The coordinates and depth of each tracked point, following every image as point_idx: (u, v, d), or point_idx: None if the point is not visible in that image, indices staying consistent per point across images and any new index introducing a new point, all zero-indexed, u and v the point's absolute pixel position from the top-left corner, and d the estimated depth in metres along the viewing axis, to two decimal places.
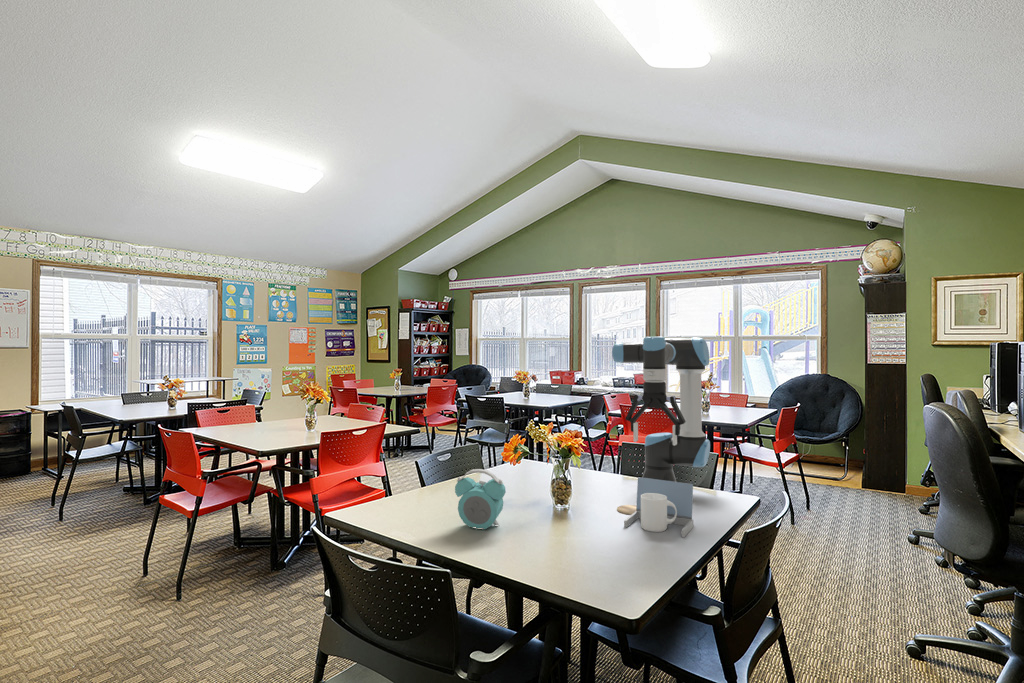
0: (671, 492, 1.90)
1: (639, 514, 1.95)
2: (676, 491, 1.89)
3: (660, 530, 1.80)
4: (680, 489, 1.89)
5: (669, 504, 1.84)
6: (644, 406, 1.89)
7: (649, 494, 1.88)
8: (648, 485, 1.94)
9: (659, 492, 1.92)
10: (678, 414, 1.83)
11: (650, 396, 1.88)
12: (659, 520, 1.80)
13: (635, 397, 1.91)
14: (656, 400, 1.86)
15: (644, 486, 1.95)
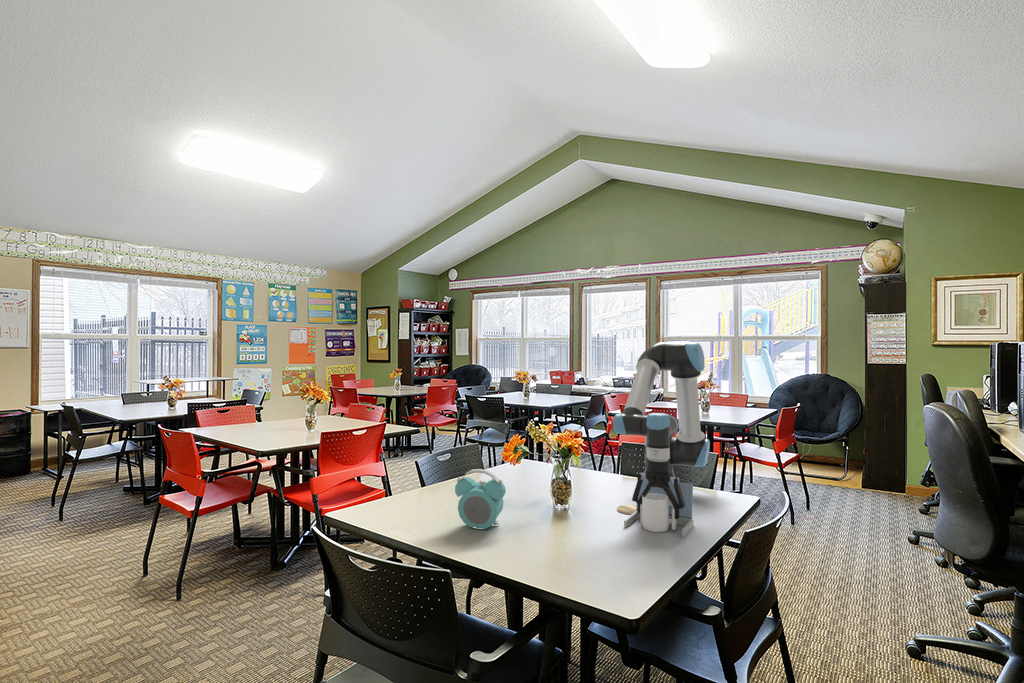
0: None
1: (639, 514, 1.95)
2: None
3: (662, 530, 1.80)
4: None
5: (671, 504, 1.83)
6: (648, 486, 1.84)
7: (650, 494, 1.88)
8: None
9: (659, 492, 1.92)
10: (679, 498, 1.79)
11: (653, 474, 1.84)
12: (661, 520, 1.80)
13: (638, 476, 1.87)
14: (660, 480, 1.82)
15: (644, 486, 1.95)
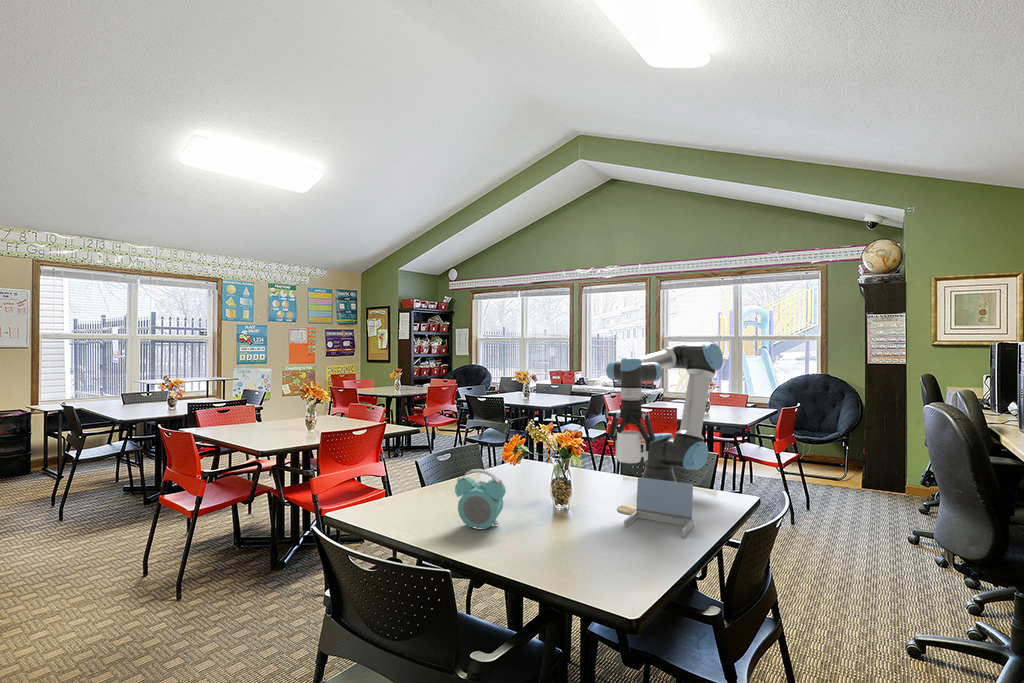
0: (671, 492, 1.90)
1: (639, 514, 1.95)
2: (676, 491, 1.89)
3: (634, 461, 2.00)
4: (680, 489, 1.89)
5: (642, 439, 2.03)
6: (622, 423, 2.04)
7: (625, 431, 2.08)
8: (648, 485, 1.94)
9: (659, 492, 1.92)
10: (650, 432, 1.99)
11: (627, 412, 2.04)
12: (633, 452, 2.00)
13: (613, 415, 2.07)
14: (632, 416, 2.02)
15: (644, 486, 1.95)
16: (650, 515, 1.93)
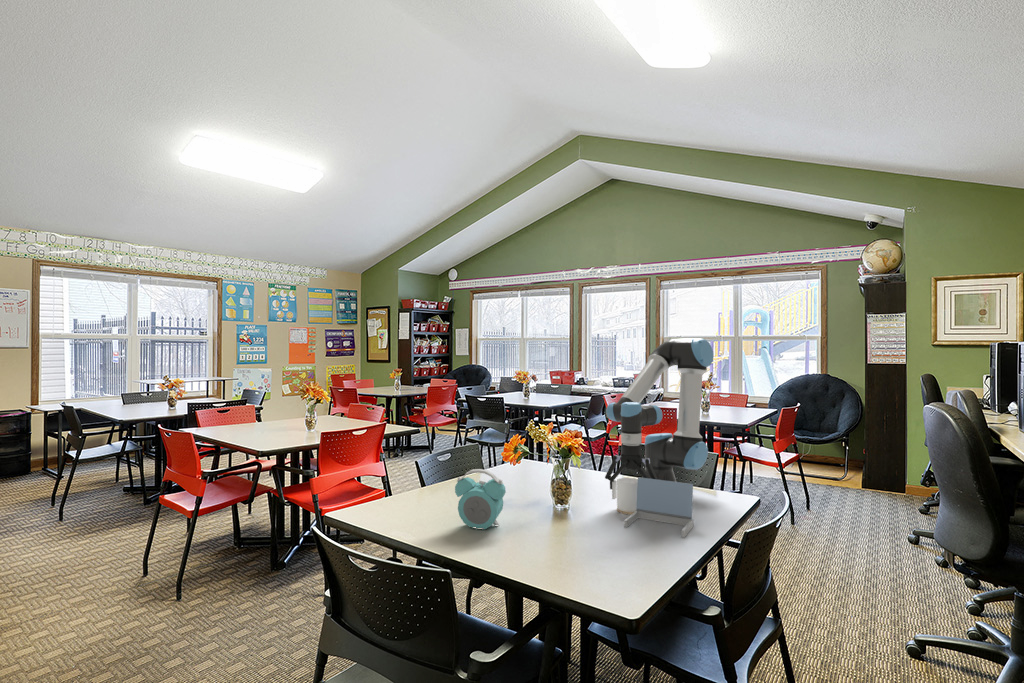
0: (671, 492, 1.90)
1: (639, 514, 1.95)
2: (676, 491, 1.89)
3: (634, 510, 2.00)
4: (680, 489, 1.89)
5: None
6: (622, 467, 2.04)
7: (624, 479, 2.08)
8: (648, 485, 1.94)
9: (659, 492, 1.92)
10: (652, 476, 1.99)
11: (627, 458, 2.04)
12: (633, 501, 2.00)
13: (614, 458, 2.07)
14: (632, 462, 2.02)
15: (644, 486, 1.95)
16: (650, 515, 1.93)
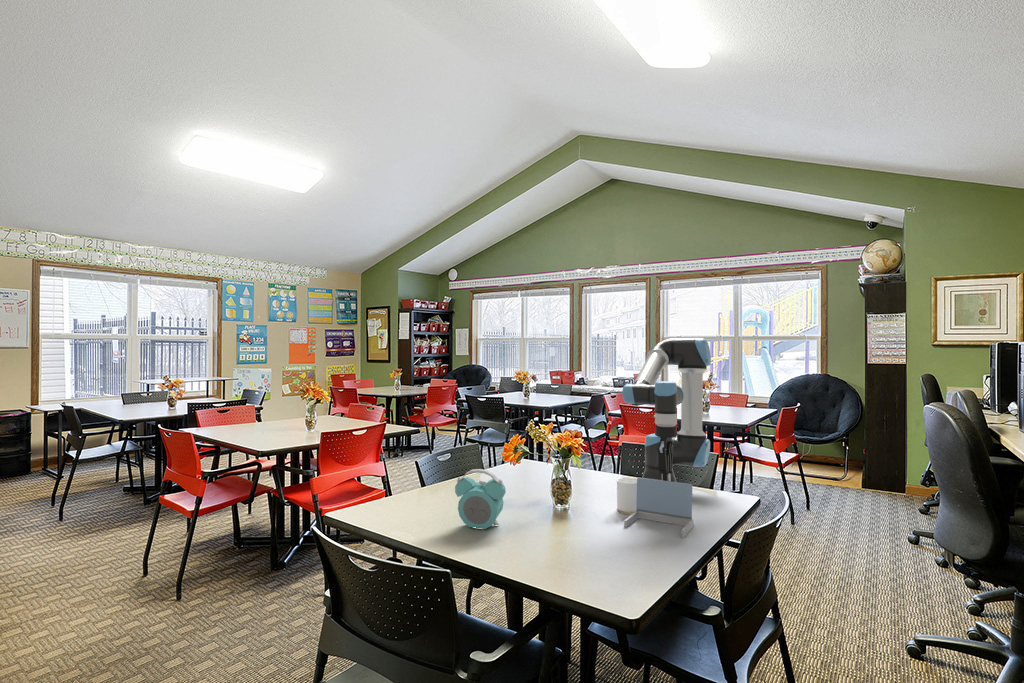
0: (670, 492, 1.89)
1: (639, 514, 1.95)
2: (675, 491, 1.89)
3: (634, 510, 2.00)
4: (679, 489, 1.88)
5: None
6: None
7: (624, 479, 2.08)
8: (647, 485, 1.94)
9: (659, 492, 1.92)
10: None
11: None
12: (633, 501, 2.00)
13: None
14: None
15: (643, 486, 1.95)
16: (650, 515, 1.93)
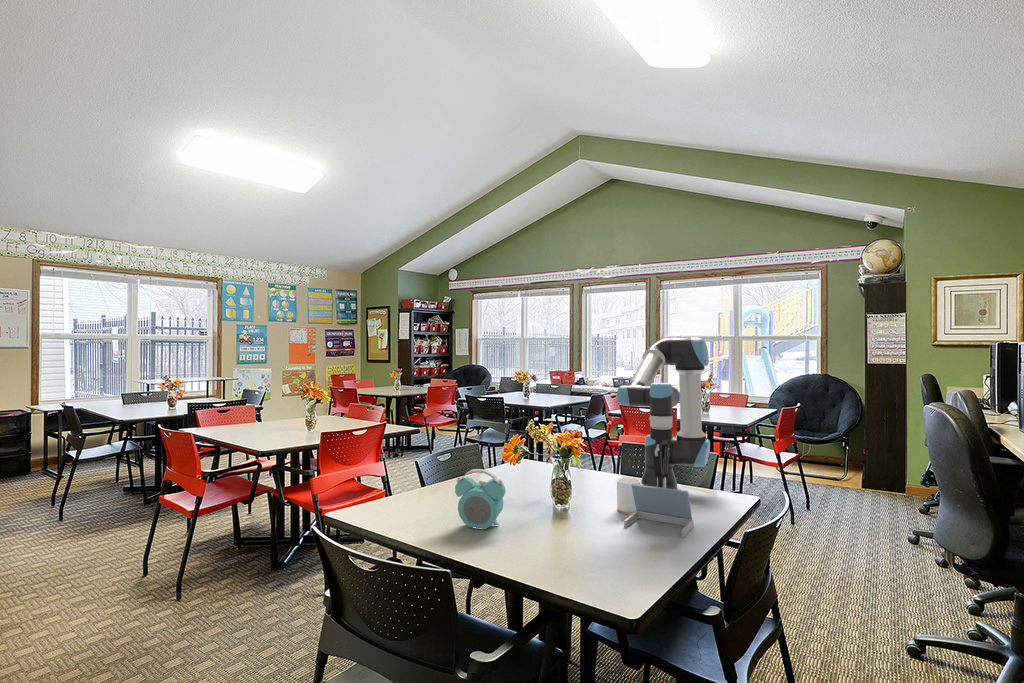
0: (667, 498, 1.86)
1: (639, 514, 1.95)
2: (672, 497, 1.85)
3: (634, 510, 2.00)
4: (676, 496, 1.84)
5: None
6: None
7: (624, 479, 2.08)
8: (643, 492, 1.90)
9: (655, 498, 1.88)
10: None
11: None
12: (633, 501, 2.00)
13: None
14: None
15: (639, 492, 1.91)
16: (650, 515, 1.93)
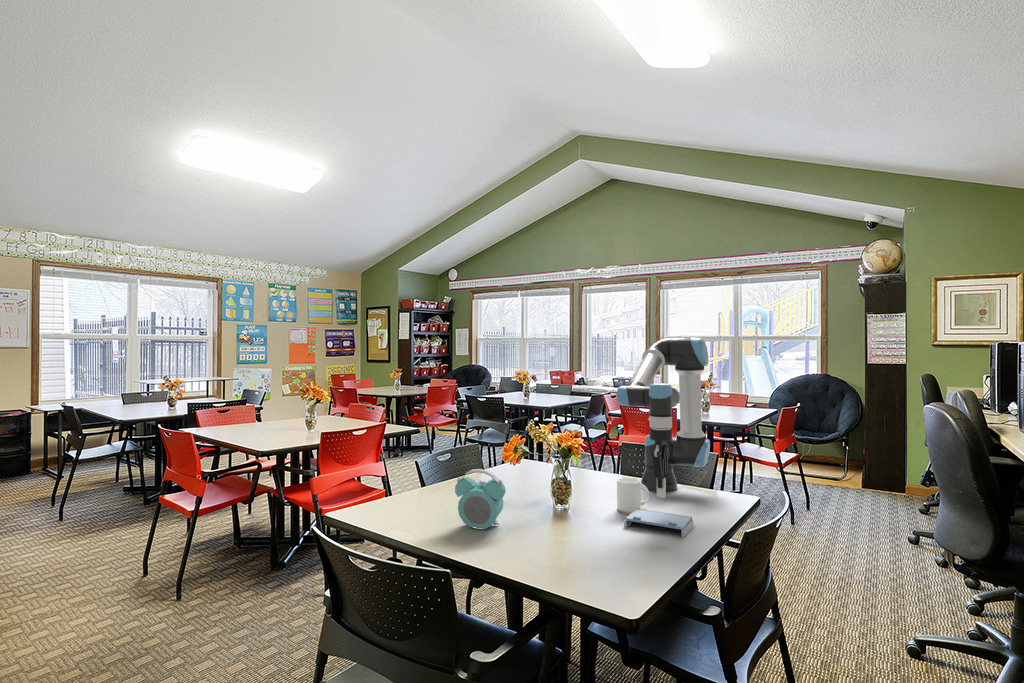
0: None
1: None
2: None
3: (634, 510, 2.00)
4: None
5: (642, 487, 2.04)
6: None
7: (624, 479, 2.08)
8: None
9: None
10: None
11: None
12: (633, 501, 2.00)
13: None
14: None
15: None
16: None
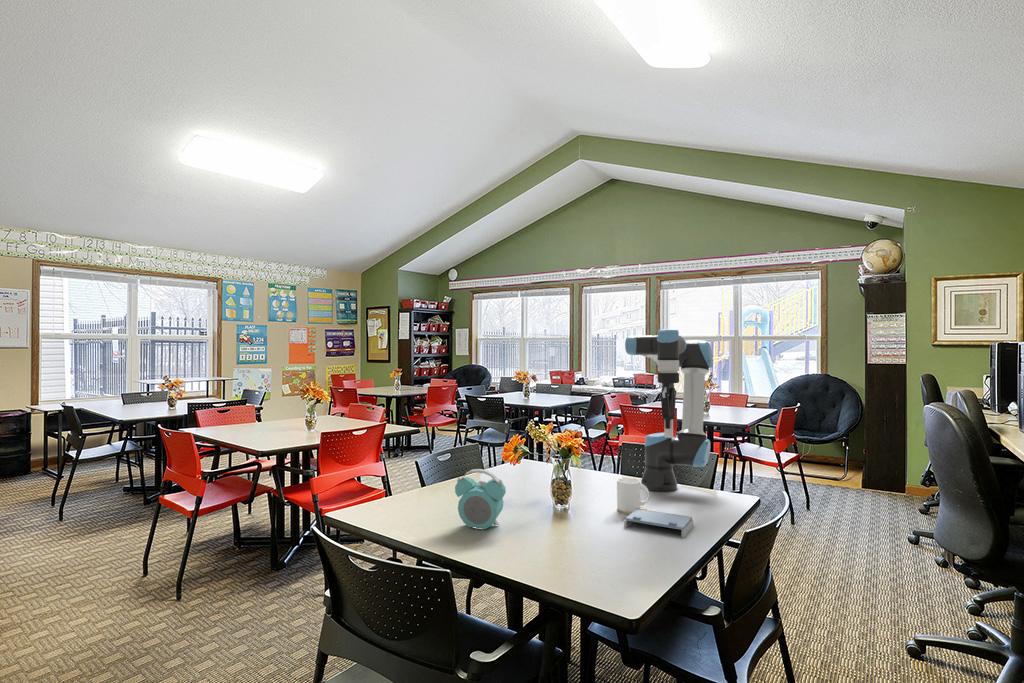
0: None
1: None
2: None
3: (634, 510, 2.00)
4: None
5: (642, 487, 2.04)
6: None
7: (624, 479, 2.08)
8: None
9: None
10: None
11: None
12: (633, 501, 2.00)
13: None
14: None
15: None
16: None
